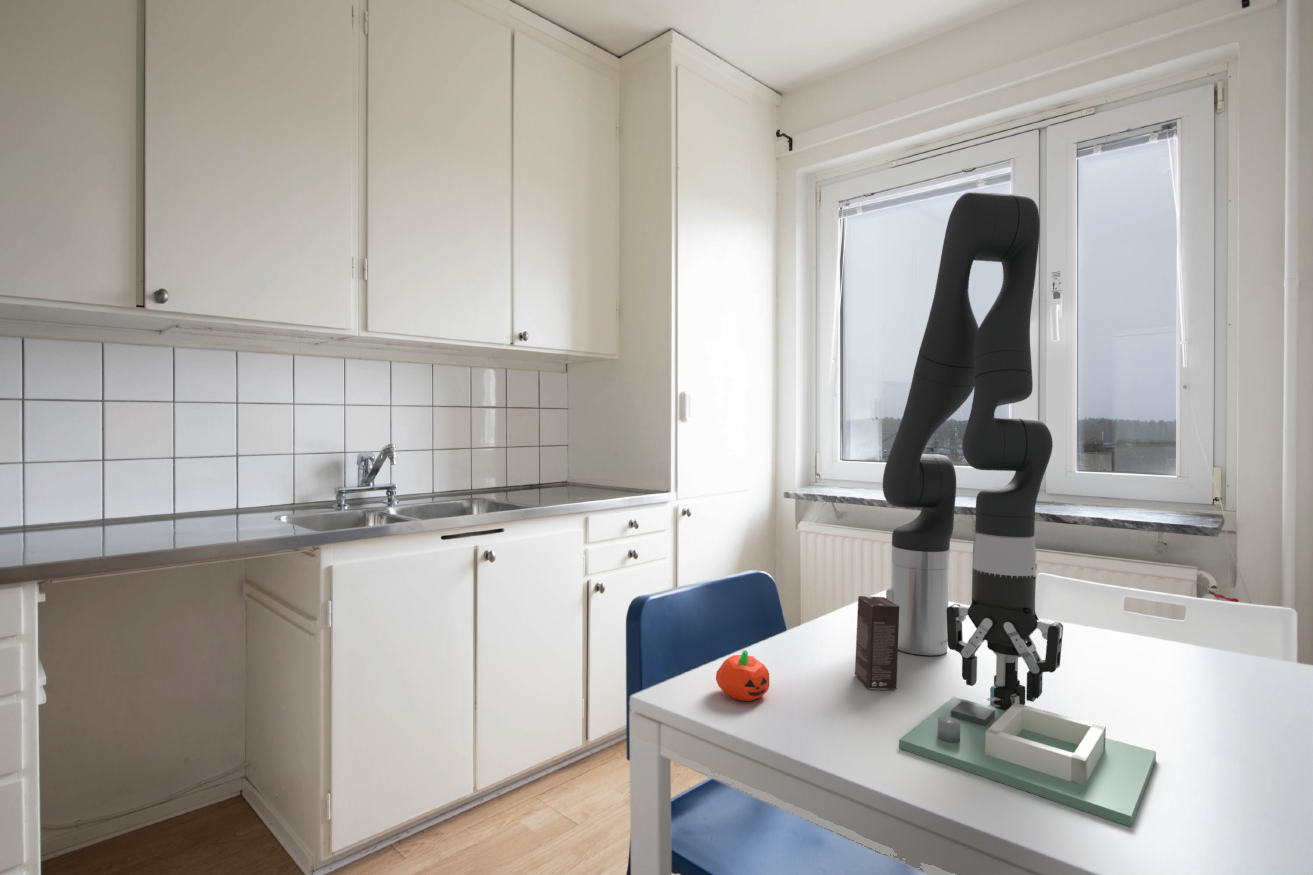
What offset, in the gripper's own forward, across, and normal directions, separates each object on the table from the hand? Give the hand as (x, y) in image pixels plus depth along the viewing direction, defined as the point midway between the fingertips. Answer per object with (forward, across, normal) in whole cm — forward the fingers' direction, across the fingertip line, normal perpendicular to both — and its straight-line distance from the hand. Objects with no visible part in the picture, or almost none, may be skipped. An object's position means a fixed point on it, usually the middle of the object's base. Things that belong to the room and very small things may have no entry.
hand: (1000, 691), depth 89 cm
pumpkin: (+3, -27, -21) cm, 34 cm away
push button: (+2, 0, +1) cm, 3 cm away
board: (+2, +6, -12) cm, 14 cm away
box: (+2, -16, -3) cm, 16 cm away
